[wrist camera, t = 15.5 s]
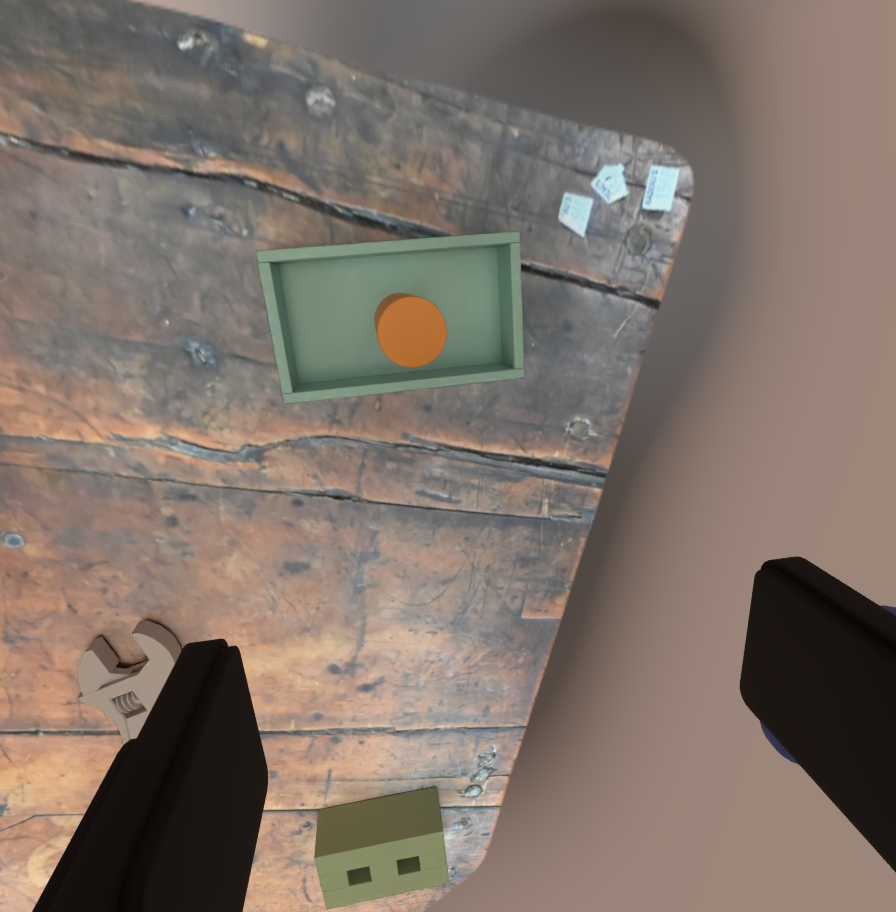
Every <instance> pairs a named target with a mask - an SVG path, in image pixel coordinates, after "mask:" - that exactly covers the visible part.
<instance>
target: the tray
mask: <svg viewBox="0 0 896 912" xmlns="http://www.w3.org/2000/svg"><path fill="white" fill-rule="evenodd" d="M519 242H520V232H519V231H513V232H499V233H486V234H473V235H459V236H446V237H433V238H419V239H406V240H393V241H379V242H366V243H353V244H339V245H326V246H312V247H299V248H286V249H272V250H259V251H256V255H257V260H258V266H259V271H260V277H261V282H262V288H263V293H264V298H265V304H266V309H267V314H268V320H269V325H270V331H271V336H272V341H273V347H274V352H275V357H276V363H277V368H278V374H279V379H280V384H281V390H282V393H283V400H284V403H285V404H288V403H297V402H306V401H315V400H325V399H334V398H343V397H352V396H362V395H371V394H380V393H389V392H399V391H408V390H417V389H426V388H435V387H445V386H454V385H463V384H472V383H482V382H491V381H500V380H509V379H519V378H524V350H523V318H522V286H521V254H520V243H519ZM393 293H407V294H410V295H414V296H418V297H421V298H424V299H427V300H428V301H430V302H432V303H433V304H434V305H435V306H436V307H437V308H438V309H439V310H440V311H441V313H442V315H443V317H444V319H445V322H446V327H447V338H446V342H445V345H444V348H443V350H442V351H441V353H440V354H439V355H438V357H437V358H436V359H434V360H433V361H432V362H430V363H429V364H427V365H424V366H421V367H416V368H409V367H404V366H400V365H398V364H396V363H394V362H393V361H391V360H390V359H389V358H388V357H387V356H386V355H385V354H384V352H383V351H382V349H381V347H380V345H379V341H378V337H377V332H376V328H375V323H374V316H375V311H376V308H377V306H378V305H379V303H380V302H381V301H382V300H383V299H384V298H385V297H387V296H388V295H390V294H393Z"/></svg>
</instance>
